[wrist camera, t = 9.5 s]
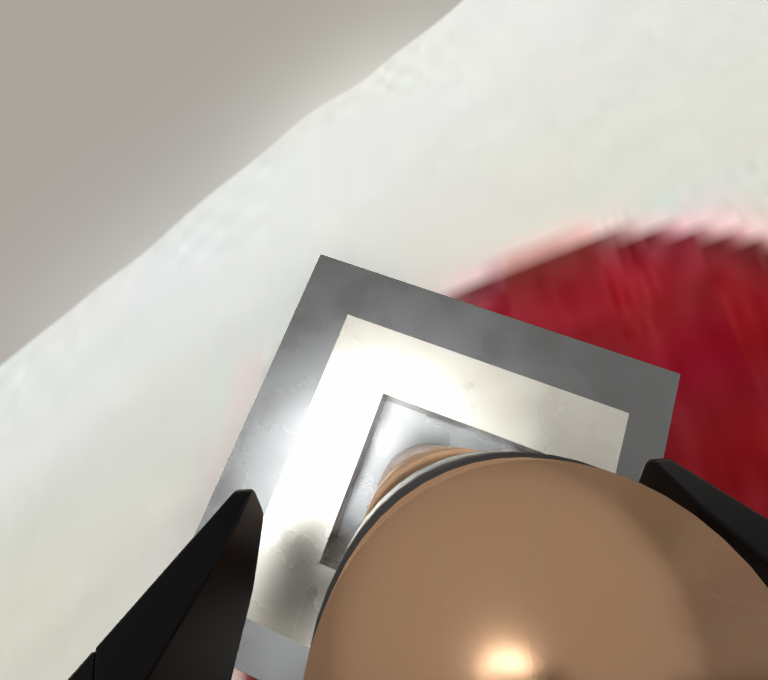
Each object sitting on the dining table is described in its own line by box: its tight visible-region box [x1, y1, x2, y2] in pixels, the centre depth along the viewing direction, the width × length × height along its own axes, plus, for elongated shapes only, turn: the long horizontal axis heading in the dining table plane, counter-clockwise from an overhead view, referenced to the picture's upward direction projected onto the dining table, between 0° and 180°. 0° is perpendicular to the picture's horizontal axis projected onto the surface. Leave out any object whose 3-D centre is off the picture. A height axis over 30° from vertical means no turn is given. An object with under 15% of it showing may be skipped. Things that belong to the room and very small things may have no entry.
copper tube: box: [303, 444, 768, 680], centre depth 10 cm, size 4×4×14 cm
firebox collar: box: [194, 255, 680, 680], centre depth 16 cm, size 18×18×4 cm
